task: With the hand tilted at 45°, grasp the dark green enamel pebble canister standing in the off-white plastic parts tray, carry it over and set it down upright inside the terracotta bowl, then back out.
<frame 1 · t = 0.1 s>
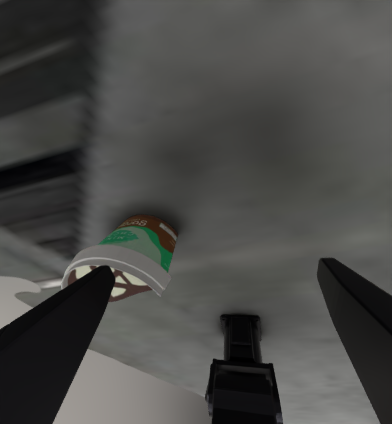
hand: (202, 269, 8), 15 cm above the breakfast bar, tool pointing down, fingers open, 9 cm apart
food container: (139, 226, 27), on the breakfast bar
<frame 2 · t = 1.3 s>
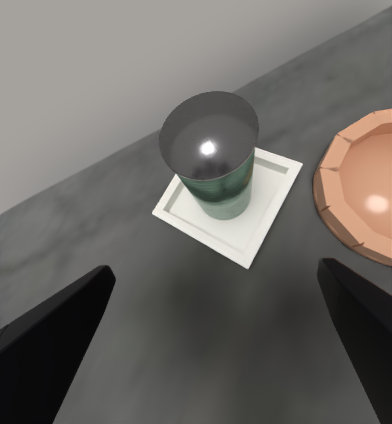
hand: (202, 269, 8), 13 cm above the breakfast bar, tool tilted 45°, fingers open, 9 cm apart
parts tray: (224, 197, 23), on the breakfast bar
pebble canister: (223, 195, 22), point 1 cm above the breakfast bar, touching parts tray
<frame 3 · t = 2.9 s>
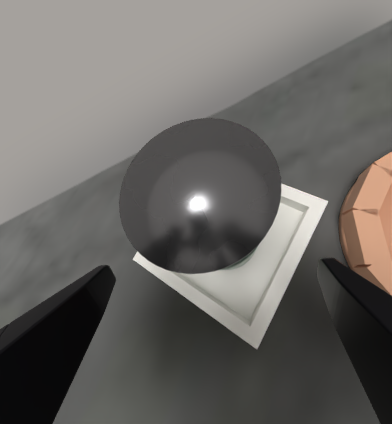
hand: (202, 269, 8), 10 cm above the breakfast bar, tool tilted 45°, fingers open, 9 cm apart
parts tray: (225, 237, 18), on the breakfast bar
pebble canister: (224, 235, 17), point 1 cm above the breakfast bar, touching parts tray
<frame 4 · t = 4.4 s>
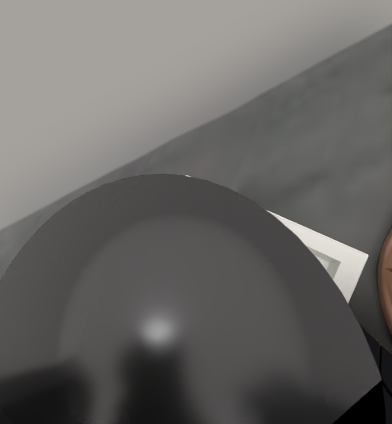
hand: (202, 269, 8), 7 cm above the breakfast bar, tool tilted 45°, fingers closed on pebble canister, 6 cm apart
parts tray: (222, 288, 14), on the breakfast bar
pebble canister: (220, 290, 13), point 1 cm above the breakfast bar, touching gripper, parts tray
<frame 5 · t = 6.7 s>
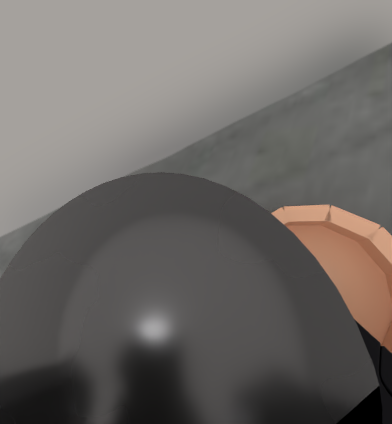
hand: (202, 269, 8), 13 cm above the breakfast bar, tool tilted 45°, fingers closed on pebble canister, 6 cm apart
bowl: (306, 288, 18), on the breakfast bar
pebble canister: (220, 289, 13), point 8 cm above the breakfast bar, touching gripper
when the fingers open (7 cm above the breakfast bar, at t = 9.3 s): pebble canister stays where it is, resting on bowl.
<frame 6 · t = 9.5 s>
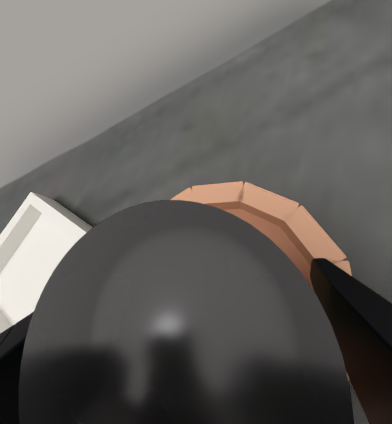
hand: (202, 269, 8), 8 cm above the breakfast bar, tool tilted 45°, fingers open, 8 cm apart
bowl: (223, 287, 15), on the breakfast bar
parts tray: (53, 275, 19), on the breakfast bar
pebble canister: (221, 289, 14), point 1 cm above the breakfast bar, touching bowl
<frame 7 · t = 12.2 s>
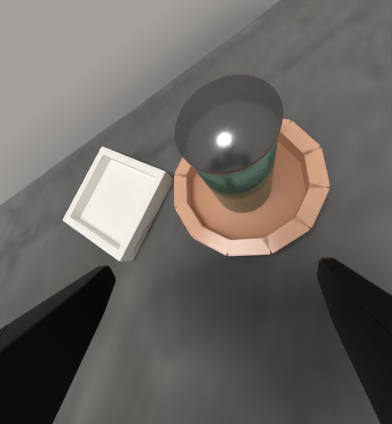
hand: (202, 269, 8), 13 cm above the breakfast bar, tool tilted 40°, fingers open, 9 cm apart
bowl: (243, 189, 22), on the breakfast bar
parts tray: (122, 202, 27), on the breakfast bar
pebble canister: (242, 186, 21), point 1 cm above the breakfast bar, touching bowl
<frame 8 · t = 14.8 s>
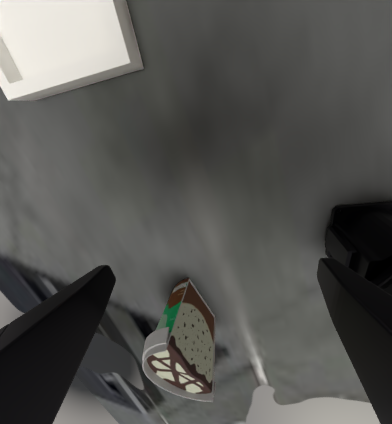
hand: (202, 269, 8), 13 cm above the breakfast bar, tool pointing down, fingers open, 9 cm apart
food container: (186, 300, 30), on the breakfast bar
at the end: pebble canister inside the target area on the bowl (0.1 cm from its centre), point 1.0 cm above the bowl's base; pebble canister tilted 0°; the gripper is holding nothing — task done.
